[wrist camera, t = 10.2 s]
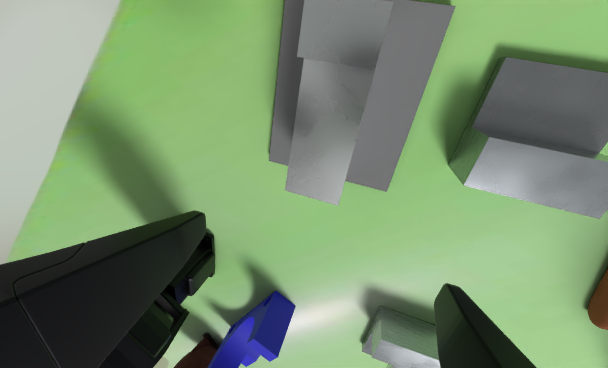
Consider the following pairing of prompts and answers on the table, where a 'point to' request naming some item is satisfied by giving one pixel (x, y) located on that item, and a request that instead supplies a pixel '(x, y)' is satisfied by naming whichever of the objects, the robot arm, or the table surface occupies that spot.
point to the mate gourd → (200, 354)
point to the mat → (383, 94)
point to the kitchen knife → (600, 304)
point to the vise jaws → (518, 168)
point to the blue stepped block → (256, 334)
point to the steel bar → (333, 91)
